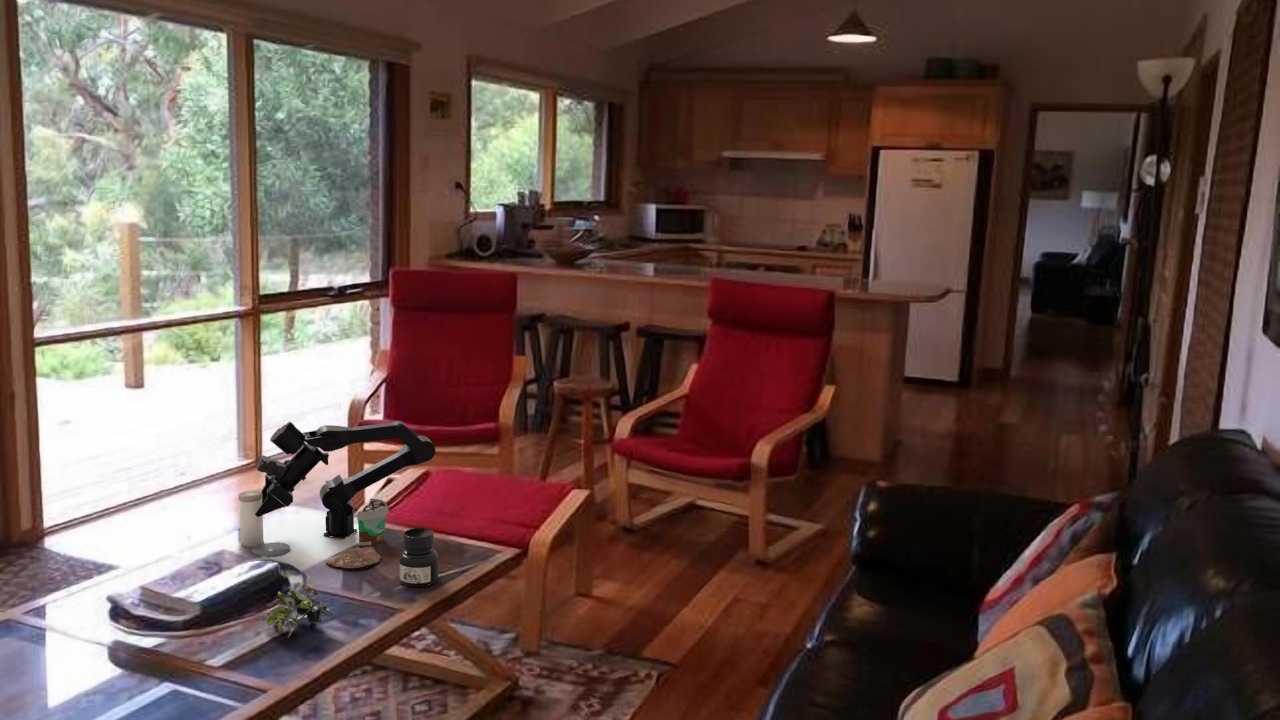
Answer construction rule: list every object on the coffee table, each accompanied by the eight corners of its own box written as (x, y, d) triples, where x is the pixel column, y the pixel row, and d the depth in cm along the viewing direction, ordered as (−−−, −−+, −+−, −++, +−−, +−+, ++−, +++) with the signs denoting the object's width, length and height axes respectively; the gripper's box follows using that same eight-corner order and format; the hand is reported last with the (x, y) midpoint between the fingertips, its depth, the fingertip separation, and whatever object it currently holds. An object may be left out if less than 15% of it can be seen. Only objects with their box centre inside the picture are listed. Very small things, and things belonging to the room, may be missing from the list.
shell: (392, 562, 257) (392, 548, 256) (350, 576, 247) (350, 562, 246) (362, 551, 264) (362, 537, 263) (320, 564, 254) (320, 550, 253)
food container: (381, 551, 263) (381, 513, 261) (357, 550, 263) (357, 512, 261) (394, 534, 275) (393, 498, 273) (371, 533, 275) (370, 497, 274)
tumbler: (268, 540, 268) (267, 492, 266) (254, 547, 263) (252, 498, 260) (250, 537, 270) (248, 489, 267) (235, 544, 264) (233, 495, 262)
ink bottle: (390, 584, 242) (390, 535, 240) (412, 571, 250) (411, 523, 248) (426, 591, 239) (425, 541, 237) (446, 578, 247) (446, 530, 245)
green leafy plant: (312, 647, 221) (344, 605, 220) (284, 661, 210) (319, 616, 209) (275, 612, 223) (307, 570, 221) (246, 624, 212) (280, 579, 211)
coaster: (297, 547, 264) (297, 545, 264) (275, 558, 255) (275, 557, 255) (267, 542, 267) (267, 540, 266) (244, 554, 258) (244, 552, 258)
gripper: (274, 436, 273) (230, 480, 270) (278, 455, 256) (231, 501, 253) (306, 463, 277) (263, 506, 275) (311, 483, 260) (266, 529, 258)
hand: (255, 510), depth 265 cm, fingers open, 9 cm apart
